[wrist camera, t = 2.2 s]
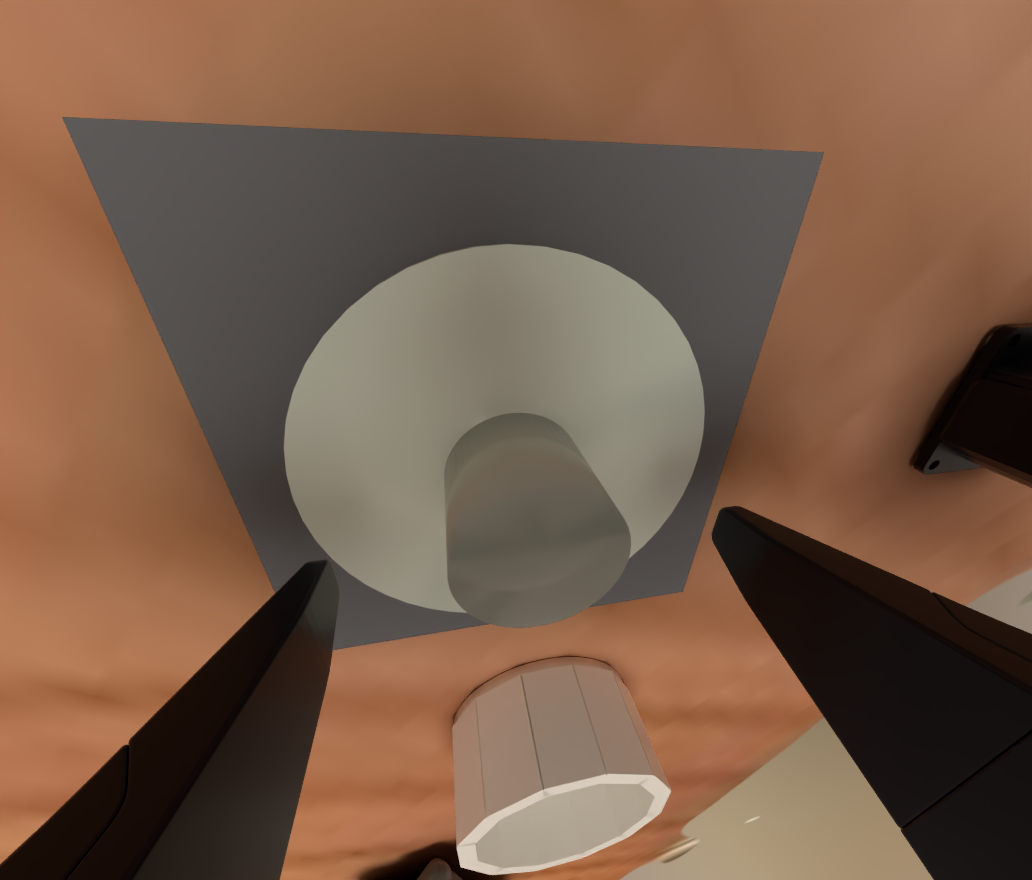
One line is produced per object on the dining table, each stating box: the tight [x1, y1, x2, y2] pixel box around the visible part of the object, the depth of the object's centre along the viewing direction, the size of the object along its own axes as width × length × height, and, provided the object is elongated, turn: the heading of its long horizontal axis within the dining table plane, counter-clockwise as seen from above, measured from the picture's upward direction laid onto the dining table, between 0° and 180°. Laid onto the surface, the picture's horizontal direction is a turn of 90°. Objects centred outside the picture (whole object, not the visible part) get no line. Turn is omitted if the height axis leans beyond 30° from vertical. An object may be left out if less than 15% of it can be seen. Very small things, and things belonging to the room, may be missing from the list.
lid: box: [284, 243, 705, 628], centre depth 10 cm, size 12×12×4 cm
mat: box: [62, 117, 824, 650], centre depth 12 cm, size 16×16×1 cm
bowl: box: [452, 657, 671, 875], centre depth 20 cm, size 10×10×5 cm
